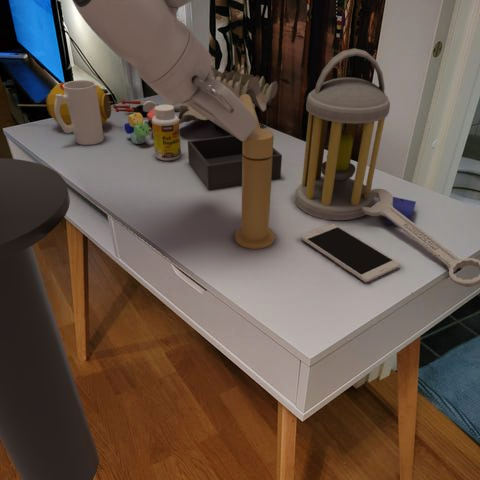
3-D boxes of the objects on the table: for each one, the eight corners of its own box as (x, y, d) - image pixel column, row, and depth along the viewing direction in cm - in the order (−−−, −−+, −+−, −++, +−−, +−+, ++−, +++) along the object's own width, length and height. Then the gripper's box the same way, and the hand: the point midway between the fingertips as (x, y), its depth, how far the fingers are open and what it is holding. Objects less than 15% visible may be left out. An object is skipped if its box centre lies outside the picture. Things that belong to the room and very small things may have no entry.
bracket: (408, 227, 82) (412, 214, 81) (380, 221, 83) (384, 208, 82) (414, 205, 89) (418, 192, 87) (388, 200, 90) (392, 187, 89)
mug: (96, 132, 115) (86, 78, 108) (110, 141, 112) (101, 85, 104) (56, 142, 110) (42, 86, 103) (69, 151, 107) (56, 93, 99)
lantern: (300, 220, 84) (316, 61, 68) (290, 184, 95) (302, 39, 78) (381, 219, 84) (416, 61, 68) (362, 183, 95) (389, 39, 79)
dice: (125, 137, 113) (121, 108, 109) (135, 135, 114) (131, 106, 110) (141, 148, 108) (137, 118, 104) (151, 145, 109) (148, 116, 105)
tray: (208, 190, 93) (207, 166, 90) (188, 163, 102) (187, 141, 99) (280, 178, 97) (282, 155, 94) (255, 154, 107) (256, 132, 103)
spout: (273, 170, 70) (275, 139, 67) (243, 171, 70) (243, 139, 67) (256, 115, 88) (257, 88, 85) (232, 116, 88) (232, 89, 85)
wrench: (353, 205, 85) (353, 197, 83) (378, 188, 85) (378, 180, 84) (465, 297, 71) (466, 290, 69) (494, 276, 71) (496, 268, 69)
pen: (186, 111, 128) (186, 107, 127) (123, 113, 125) (122, 109, 124) (186, 108, 129) (186, 104, 128) (122, 110, 126) (122, 106, 125)
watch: (134, 100, 122) (134, 111, 125) (137, 113, 120) (137, 125, 123) (164, 99, 124) (163, 110, 127) (168, 113, 122) (167, 124, 125)
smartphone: (333, 222, 82) (401, 264, 73) (332, 226, 83) (400, 267, 73) (299, 235, 79) (366, 280, 70) (298, 239, 79) (366, 284, 70)
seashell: (238, 102, 134) (248, 44, 123) (283, 134, 126) (299, 74, 115) (152, 119, 118) (155, 54, 107) (197, 156, 110) (206, 90, 100)
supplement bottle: (163, 163, 102) (158, 113, 95) (151, 155, 106) (145, 105, 99) (186, 157, 105) (182, 108, 98) (173, 149, 108) (169, 101, 101)
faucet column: (243, 252, 77) (245, 166, 67) (229, 232, 81) (229, 150, 72) (280, 244, 78) (286, 160, 69) (264, 225, 83) (268, 144, 74)
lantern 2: (148, 117, 121) (32, 115, 123) (142, 76, 114) (18, 75, 116) (139, 136, 114) (16, 134, 116) (132, 94, 107) (1, 92, 109)
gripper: (230, 67, 59) (288, 138, 69) (166, 37, 73) (222, 99, 83) (197, 109, 60) (259, 173, 70) (140, 72, 74) (199, 129, 84)
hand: (239, 133), depth 77 cm, fingers closed
